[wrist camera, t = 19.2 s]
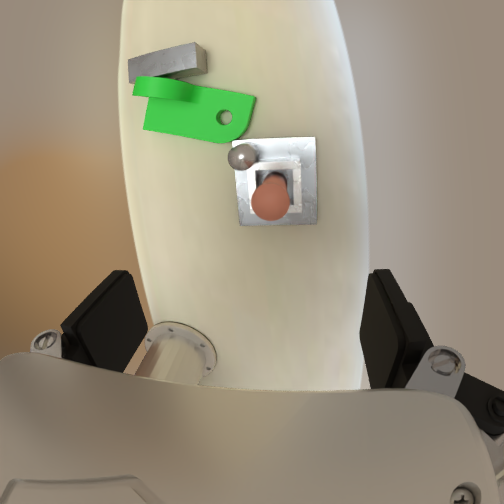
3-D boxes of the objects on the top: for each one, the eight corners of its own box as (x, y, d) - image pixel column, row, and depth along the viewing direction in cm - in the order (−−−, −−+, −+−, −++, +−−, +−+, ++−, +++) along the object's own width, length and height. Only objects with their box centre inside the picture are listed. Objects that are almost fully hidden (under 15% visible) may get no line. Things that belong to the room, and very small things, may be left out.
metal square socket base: (316, 221, 34) (319, 237, 29) (241, 222, 35) (233, 238, 31) (314, 136, 30) (318, 138, 25) (234, 140, 31) (224, 143, 27)
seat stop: (207, 73, 28) (196, 67, 25) (145, 86, 29) (129, 83, 26) (205, 50, 27) (195, 42, 23) (144, 64, 28) (128, 59, 24)
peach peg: (290, 196, 32) (290, 220, 24) (262, 197, 32) (252, 221, 25) (289, 168, 31) (288, 183, 23) (260, 169, 31) (249, 184, 23)
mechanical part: (150, 128, 32) (115, 132, 25) (159, 82, 29) (126, 75, 22) (243, 147, 32) (229, 154, 25) (256, 98, 29) (245, 89, 22)
